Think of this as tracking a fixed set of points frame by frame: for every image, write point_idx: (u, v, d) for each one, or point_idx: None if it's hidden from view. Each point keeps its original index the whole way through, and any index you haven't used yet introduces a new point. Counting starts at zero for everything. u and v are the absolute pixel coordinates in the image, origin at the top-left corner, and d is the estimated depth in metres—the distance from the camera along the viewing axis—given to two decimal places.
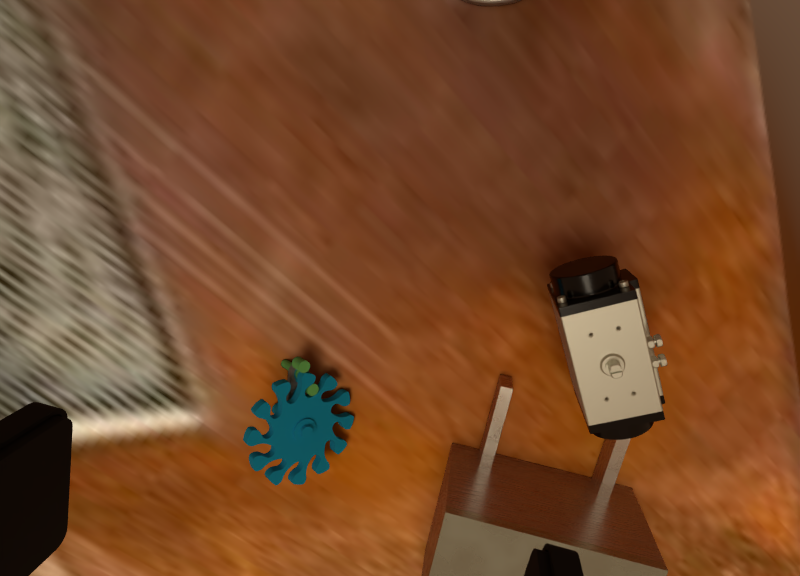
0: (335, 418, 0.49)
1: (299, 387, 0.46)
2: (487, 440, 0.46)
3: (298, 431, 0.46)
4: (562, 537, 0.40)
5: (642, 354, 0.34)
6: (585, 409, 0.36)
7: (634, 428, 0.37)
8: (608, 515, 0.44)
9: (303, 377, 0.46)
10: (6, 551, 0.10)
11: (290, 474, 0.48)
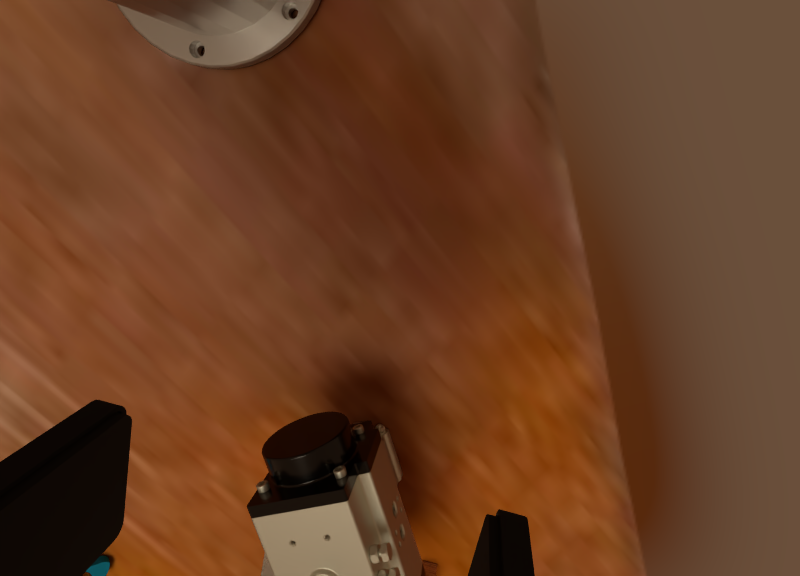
0: None
1: None
2: None
3: None
4: None
5: (362, 572, 0.25)
6: None
7: None
8: None
9: None
10: (74, 541, 0.10)
11: None
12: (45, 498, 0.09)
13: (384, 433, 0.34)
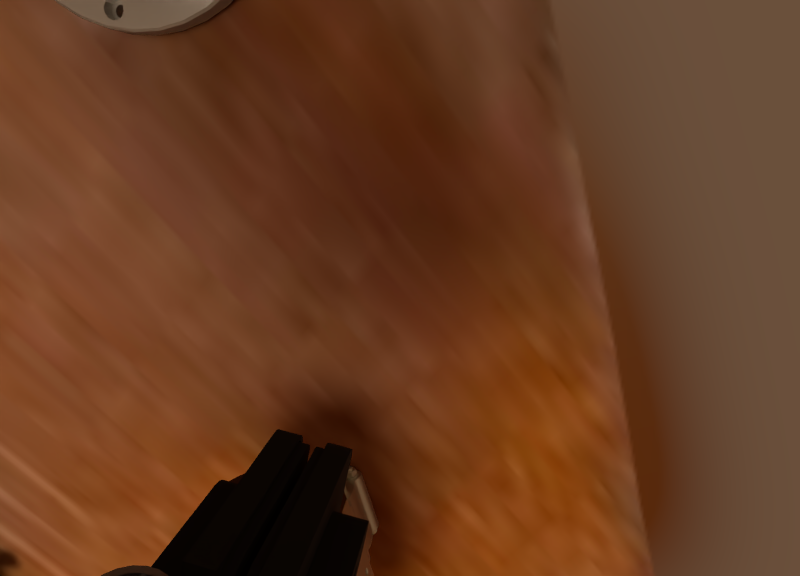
0: None
1: None
2: None
3: None
4: None
5: None
6: None
7: None
8: None
9: None
10: None
11: None
12: (266, 530, 0.09)
13: (356, 478, 0.28)
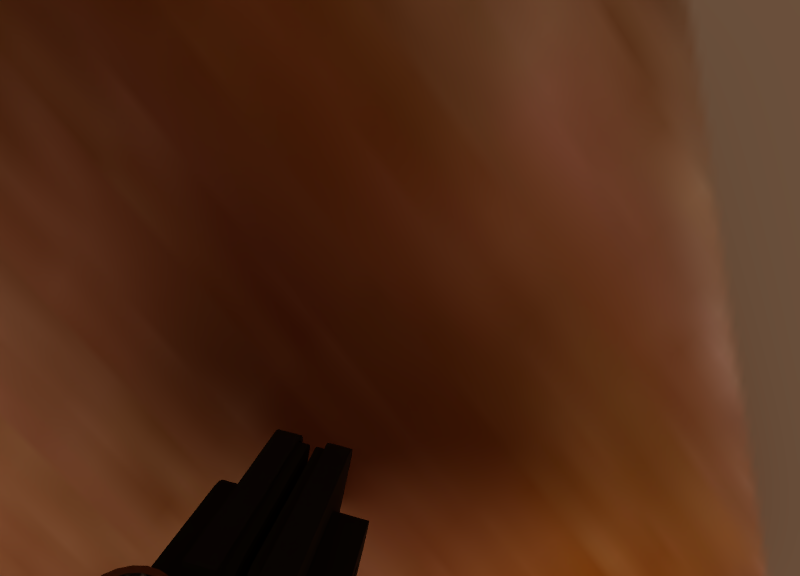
0: None
1: None
2: None
3: None
4: None
5: None
6: None
7: None
8: None
9: None
10: None
11: None
12: (266, 531, 0.09)
13: None
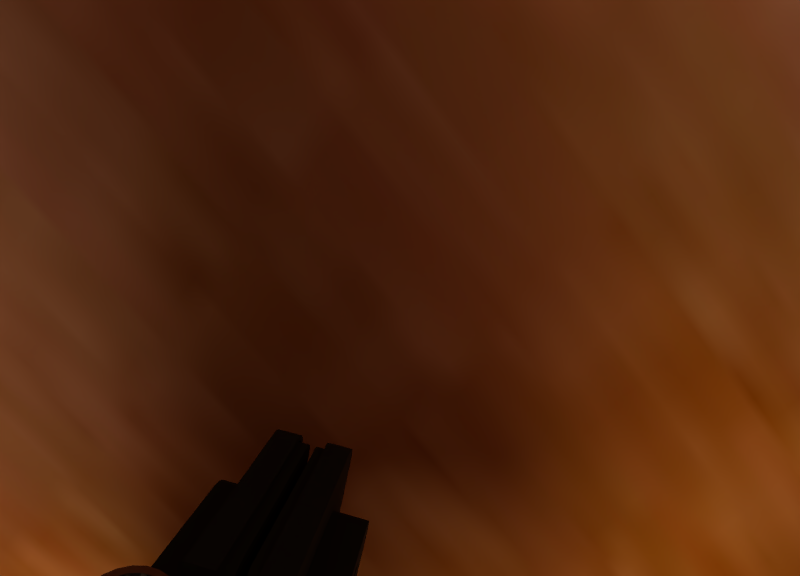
0: None
1: None
2: None
3: None
4: None
5: None
6: None
7: None
8: None
9: None
10: None
11: None
12: (266, 530, 0.09)
13: None
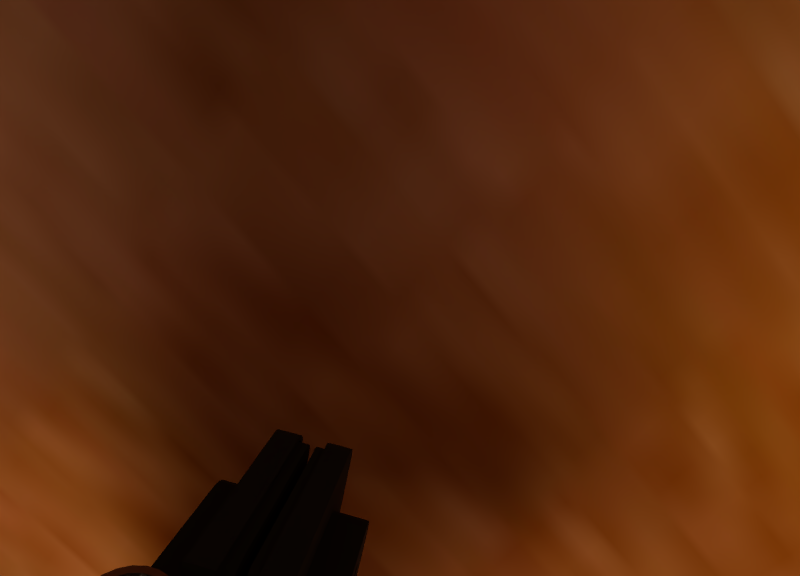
0: None
1: None
2: None
3: None
4: None
5: None
6: None
7: None
8: None
9: None
10: None
11: None
12: (266, 531, 0.09)
13: None
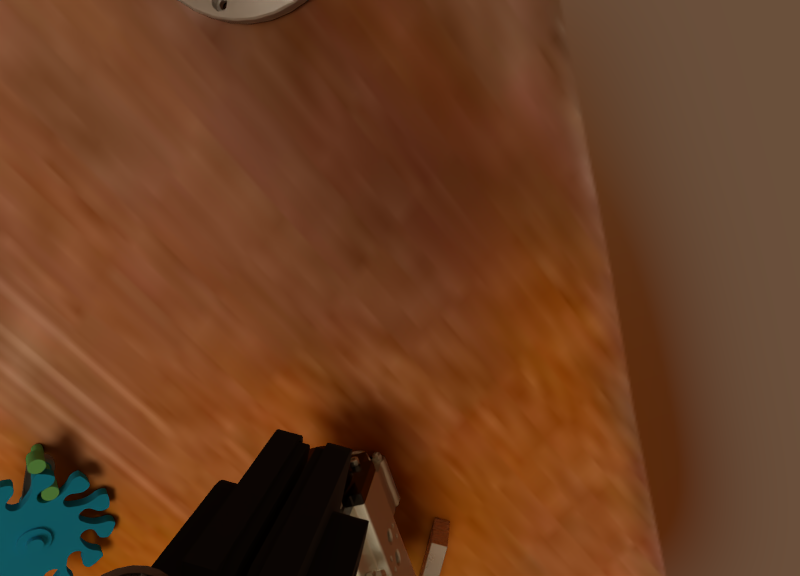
0: (85, 525, 0.40)
1: (30, 490, 0.37)
2: None
3: (23, 544, 0.37)
4: None
5: None
6: None
7: None
8: None
9: (35, 479, 0.37)
10: None
11: None
12: (266, 530, 0.09)
13: (381, 461, 0.36)
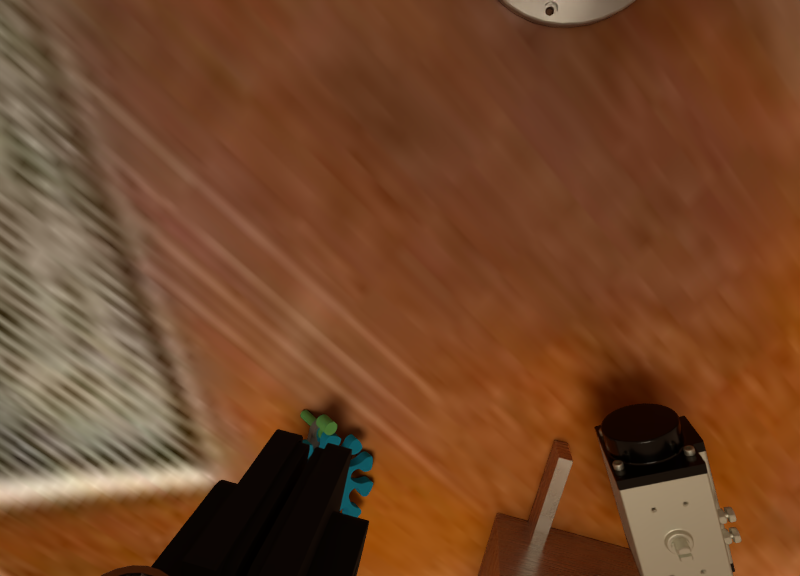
0: (354, 484, 0.43)
1: None
2: (540, 516, 0.41)
3: None
4: None
5: (713, 531, 0.30)
6: None
7: None
8: None
9: (328, 440, 0.41)
10: None
11: None
12: (266, 530, 0.09)
13: None
